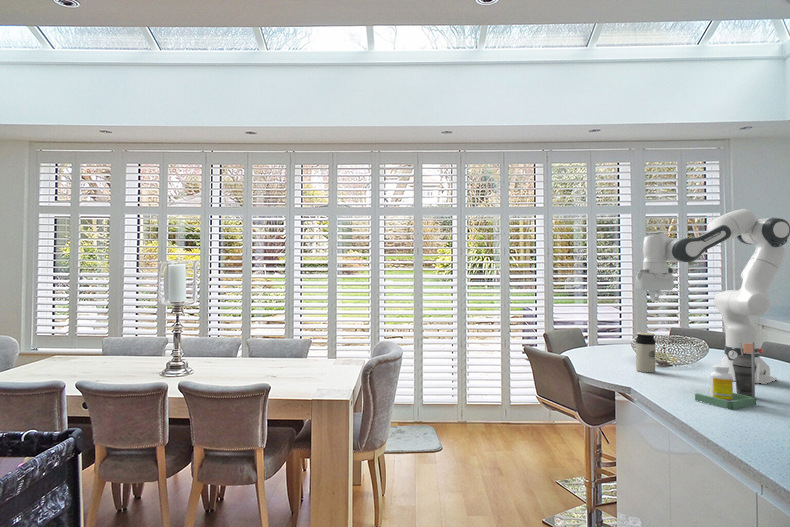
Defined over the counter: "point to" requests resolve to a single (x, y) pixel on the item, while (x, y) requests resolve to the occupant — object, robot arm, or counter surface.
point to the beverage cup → (743, 374)
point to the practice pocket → (738, 399)
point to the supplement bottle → (721, 383)
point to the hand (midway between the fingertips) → (654, 300)
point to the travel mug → (645, 352)
